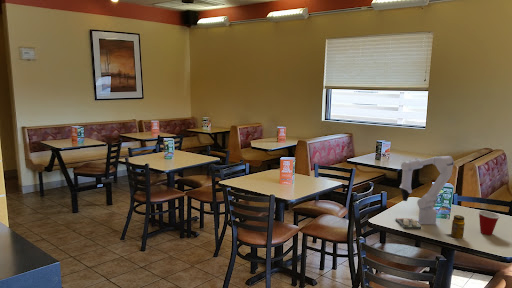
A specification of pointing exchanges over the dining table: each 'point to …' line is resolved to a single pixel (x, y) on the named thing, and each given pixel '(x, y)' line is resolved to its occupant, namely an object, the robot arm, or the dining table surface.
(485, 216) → the plastic cup
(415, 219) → the breaker
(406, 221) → the breaker
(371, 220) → the dining table surface
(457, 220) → the condiment
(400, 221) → the breaker panel
